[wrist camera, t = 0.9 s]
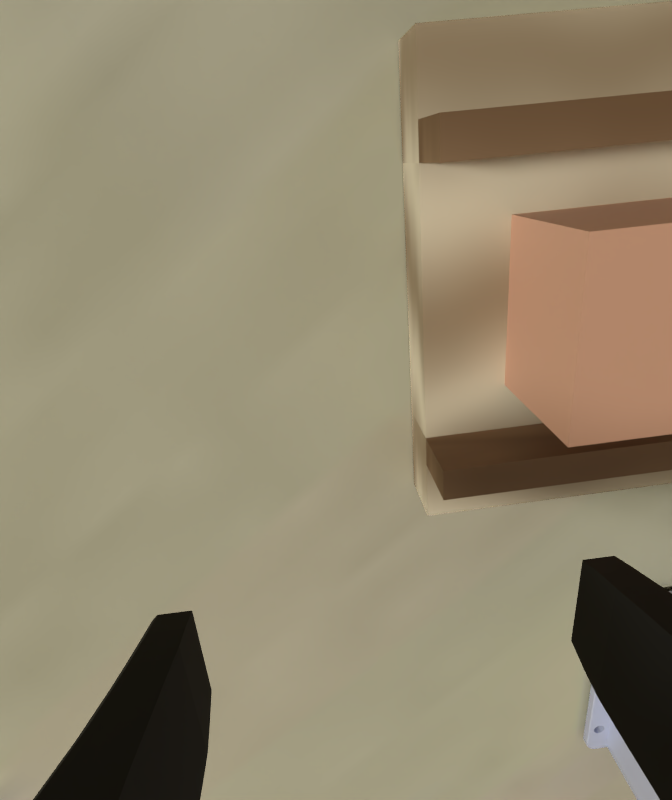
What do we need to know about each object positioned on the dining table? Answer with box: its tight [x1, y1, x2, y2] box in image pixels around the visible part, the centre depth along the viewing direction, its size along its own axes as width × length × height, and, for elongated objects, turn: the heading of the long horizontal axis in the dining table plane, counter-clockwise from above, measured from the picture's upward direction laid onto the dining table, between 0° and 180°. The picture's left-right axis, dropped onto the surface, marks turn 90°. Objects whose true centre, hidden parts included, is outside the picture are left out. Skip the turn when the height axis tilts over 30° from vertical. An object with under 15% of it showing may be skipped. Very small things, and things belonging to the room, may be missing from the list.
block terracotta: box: [505, 198, 672, 447], centre depth 14 cm, size 5×5×4 cm
